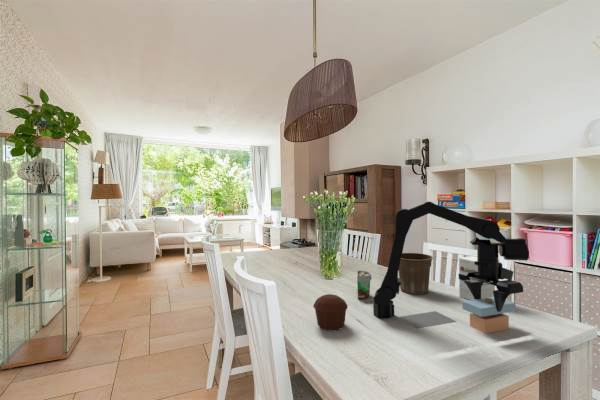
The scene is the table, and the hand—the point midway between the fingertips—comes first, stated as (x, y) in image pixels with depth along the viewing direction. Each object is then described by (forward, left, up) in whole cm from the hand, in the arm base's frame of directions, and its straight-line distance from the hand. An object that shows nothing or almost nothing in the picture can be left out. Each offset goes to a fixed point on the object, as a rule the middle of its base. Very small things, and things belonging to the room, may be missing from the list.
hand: (488, 307), depth 97 cm
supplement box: (+22, +25, -8) cm, 34 cm away
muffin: (-46, +21, -8) cm, 51 cm away
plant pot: (+5, +43, -8) cm, 44 cm away
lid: (0, 0, -1) cm, 1 cm away
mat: (-14, +12, -7) cm, 20 cm away
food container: (-20, +44, -8) cm, 49 cm away
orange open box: (0, 0, -7) cm, 7 cm away
